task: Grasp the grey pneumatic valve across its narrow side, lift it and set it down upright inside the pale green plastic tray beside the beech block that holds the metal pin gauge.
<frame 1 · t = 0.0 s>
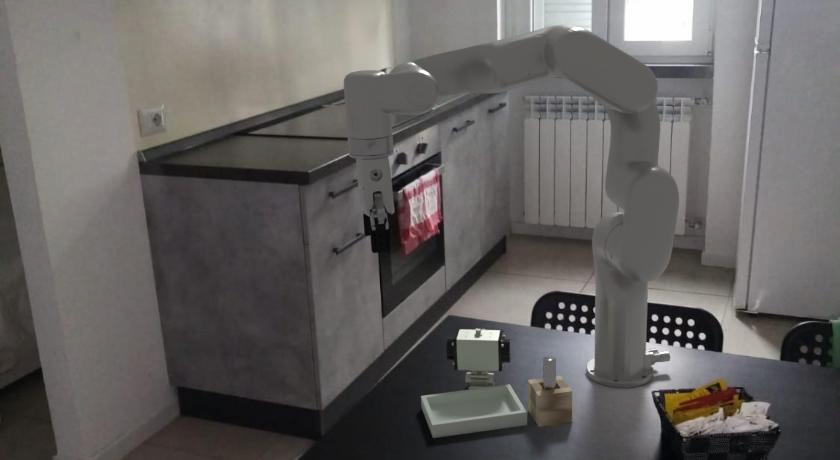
hand: (377, 242, 150), 31 cm above the table, tool pointing down, fingers open, 9 cm apart
tray: (473, 416, 153), on the table
pneumatic valve: (480, 387, 164), on the table
bore block: (549, 416, 152), on the table
pin gauge: (549, 388, 150), in the bore block
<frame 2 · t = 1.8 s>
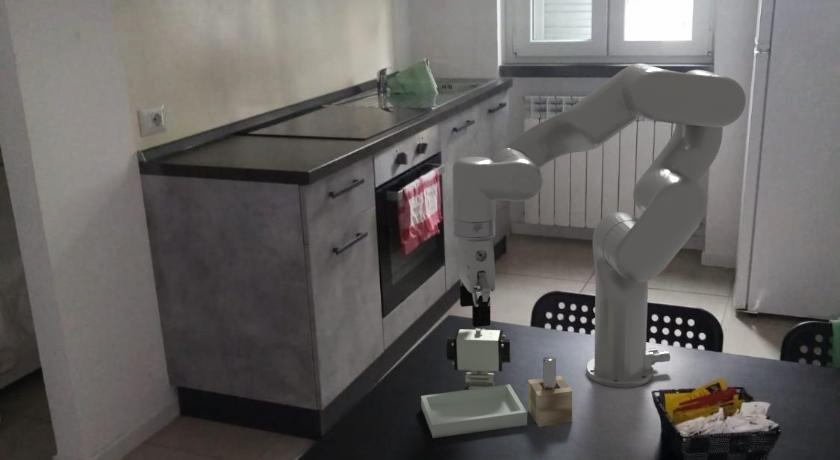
hand: (474, 315, 159), 15 cm above the table, tool pointing down, fingers open, 9 cm apart
nothing on the table moved.
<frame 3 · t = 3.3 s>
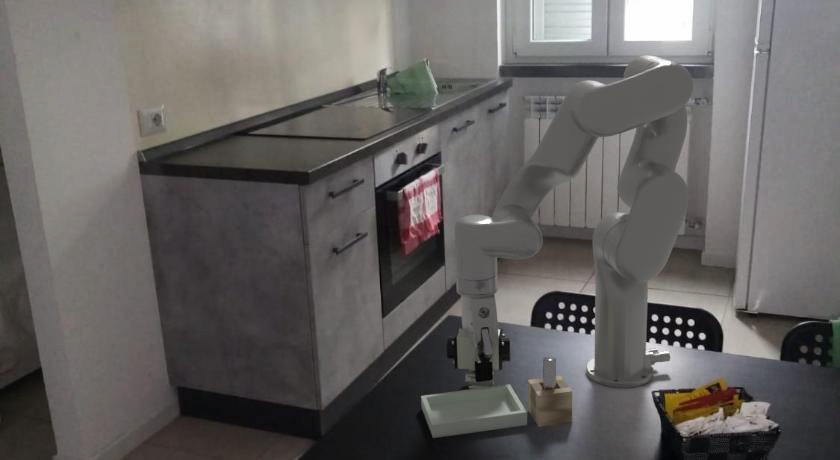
hand: (479, 371, 163), 3 cm above the table, tool pointing down, fingers closed on pneumatic valve, 6 cm apart
pneumatic valve: (480, 387, 164), on the table, touching gripper
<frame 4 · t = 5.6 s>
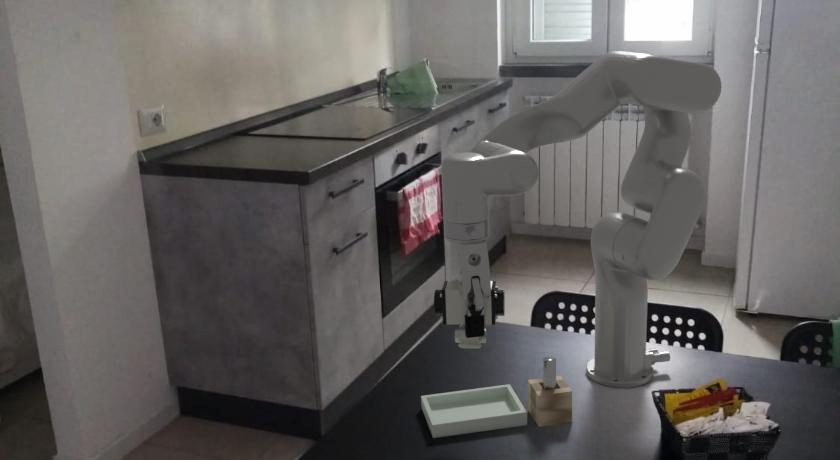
hand: (470, 327, 148), 17 cm above the table, tool pointing down, fingers closed on pneumatic valve, 5 cm apart
pneumatic valve: (471, 345, 149), point 14 cm above the table, touching gripper
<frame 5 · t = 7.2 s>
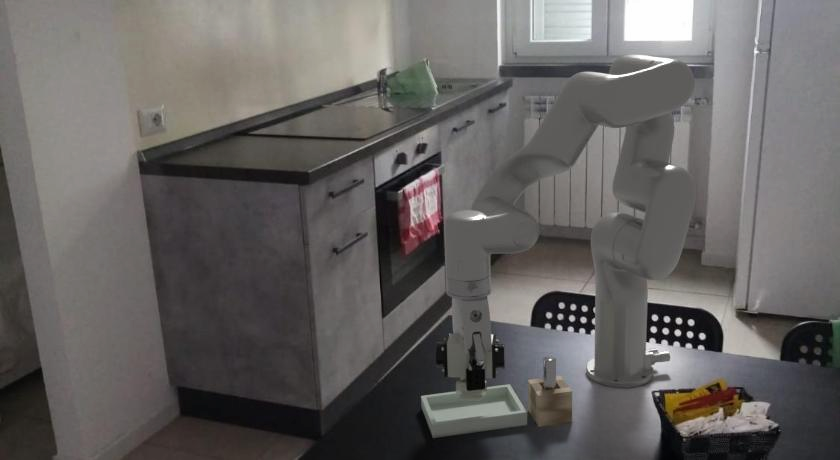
hand: (471, 379, 151), 7 cm above the table, tool pointing down, fingers closed on pneumatic valve, 5 cm apart
pneumatic valve: (471, 396, 152), point 4 cm above the table, touching gripper
when the fingers open (5 cm above the table, at t = 8.1 s): pneumatic valve drops 1 cm, resting on tray.
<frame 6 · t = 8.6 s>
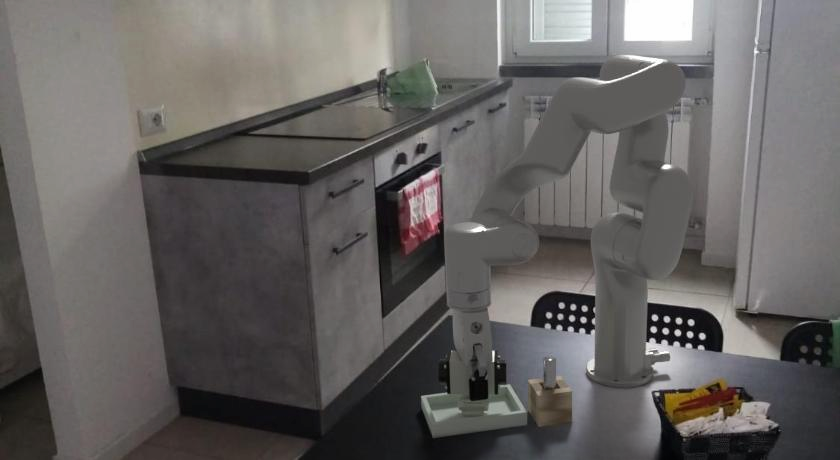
hand: (472, 386, 151), 6 cm above the table, tool pointing down, fingers open, 9 cm apart
pneumatic valve: (473, 412, 154), resting on tray
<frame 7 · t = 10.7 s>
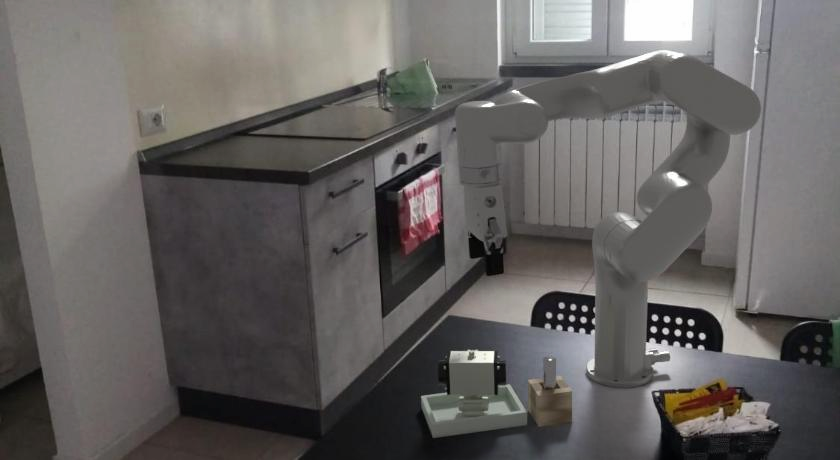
hand: (486, 265, 155), 25 cm above the table, tool pointing down, fingers open, 9 cm apart
nothing on the table moved.
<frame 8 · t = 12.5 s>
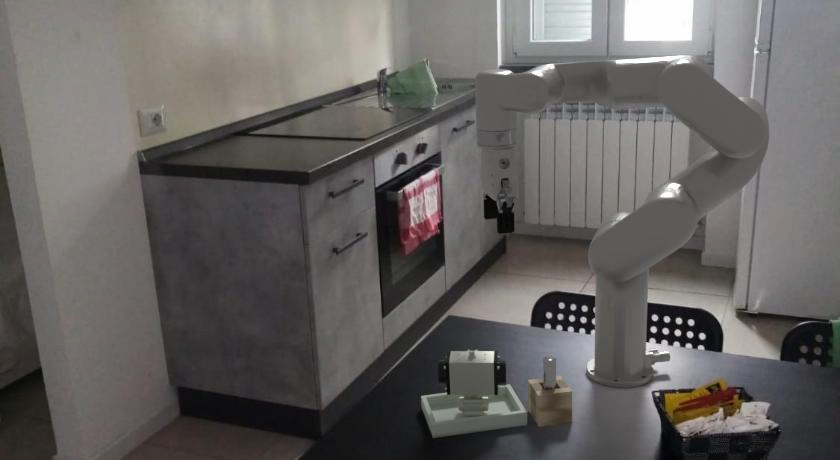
hand: (498, 225, 166), 28 cm above the table, tool pointing down, fingers open, 9 cm apart
nothing on the table moved.
at the end: pneumatic valve inside the target area on the tray (0.7 cm from its centre), point 0.4 cm above the tray's base; pneumatic valve tilted 0°; the gripper is holding nothing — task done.
